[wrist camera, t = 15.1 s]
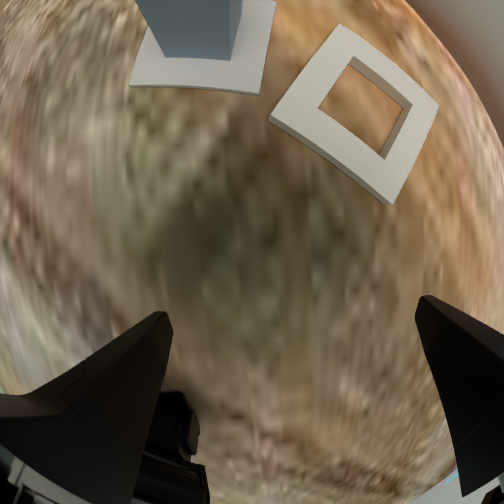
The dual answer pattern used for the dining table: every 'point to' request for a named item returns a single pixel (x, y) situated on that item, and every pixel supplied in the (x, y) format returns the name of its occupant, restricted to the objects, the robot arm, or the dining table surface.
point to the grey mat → (209, 70)
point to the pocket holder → (339, 138)
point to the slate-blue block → (193, 26)
